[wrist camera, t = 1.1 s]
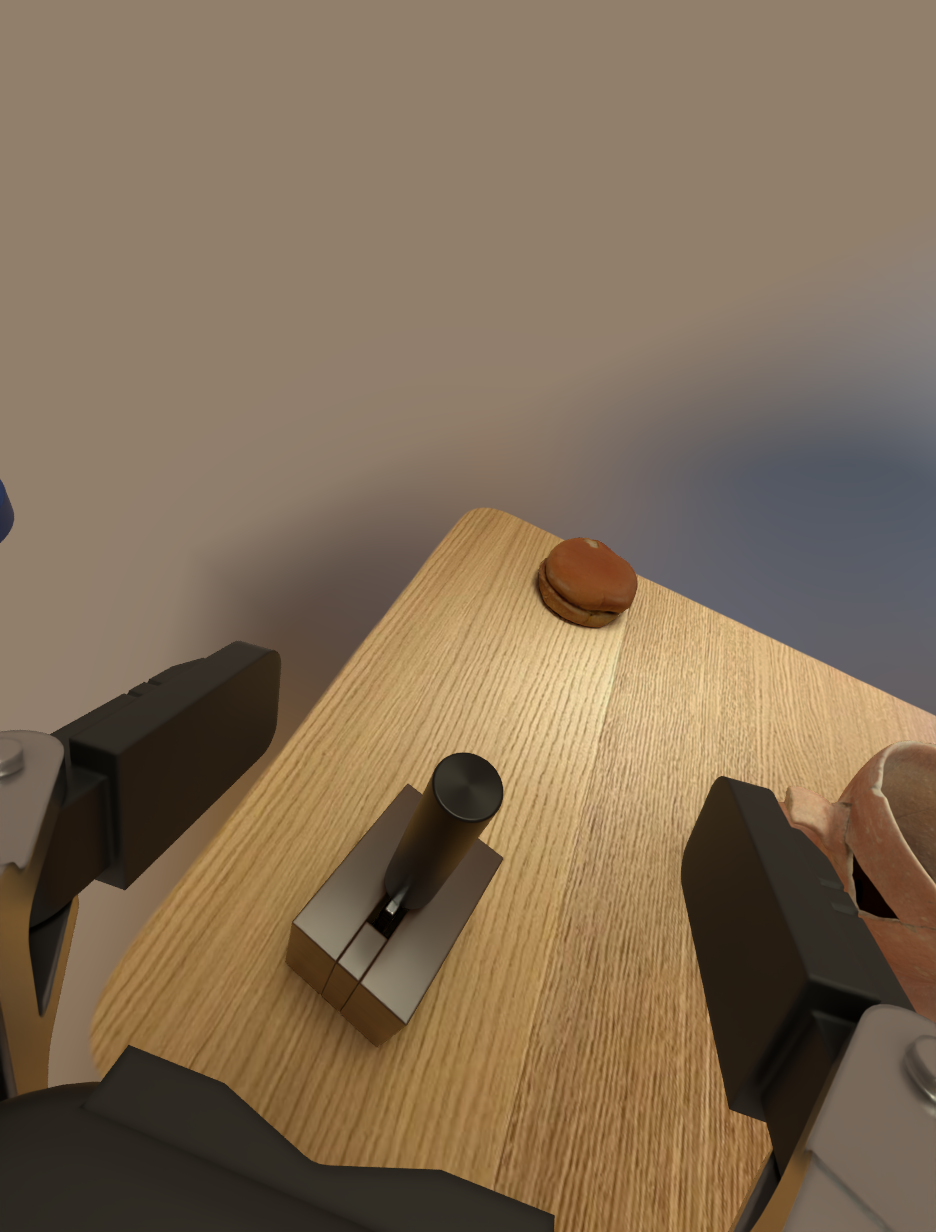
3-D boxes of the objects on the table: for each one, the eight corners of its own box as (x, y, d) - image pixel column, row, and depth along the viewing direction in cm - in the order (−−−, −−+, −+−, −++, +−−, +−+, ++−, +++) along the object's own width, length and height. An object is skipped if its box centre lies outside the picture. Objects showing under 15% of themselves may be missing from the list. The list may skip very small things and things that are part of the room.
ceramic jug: (669, 980, 31) (860, 907, 21) (689, 781, 41) (822, 671, 32) (970, 1152, 29) (1327, 1157, 20) (911, 898, 40) (1124, 820, 30)
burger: (558, 633, 49) (579, 597, 46) (520, 564, 55) (536, 528, 52) (640, 627, 53) (665, 594, 50) (597, 564, 59) (617, 531, 56)
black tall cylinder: (344, 941, 28) (409, 798, 16) (383, 889, 30) (464, 730, 18) (380, 973, 27) (473, 848, 16) (416, 918, 30) (522, 772, 18)
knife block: (284, 961, 27) (291, 922, 22) (385, 836, 32) (407, 782, 27) (377, 1048, 25) (406, 1026, 20) (465, 901, 31) (504, 857, 26)
